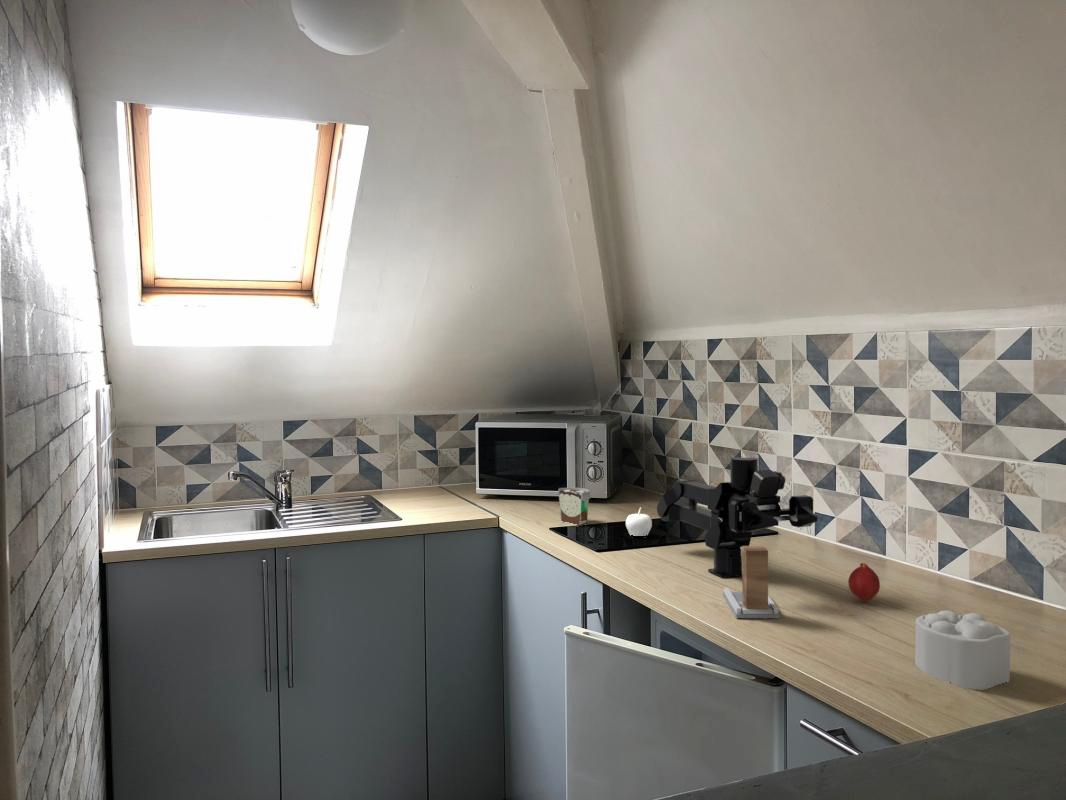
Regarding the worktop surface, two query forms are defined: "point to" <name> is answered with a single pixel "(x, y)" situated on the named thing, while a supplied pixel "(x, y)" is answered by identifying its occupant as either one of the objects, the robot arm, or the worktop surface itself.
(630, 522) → the plain white apple
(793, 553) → the worktop surface
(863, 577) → the onion
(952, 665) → the lumpy-topped squat cylinder
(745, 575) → the brown rectangular block
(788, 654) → the worktop surface
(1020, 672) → the worktop surface
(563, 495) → the food container
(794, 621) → the worktop surface
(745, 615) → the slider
